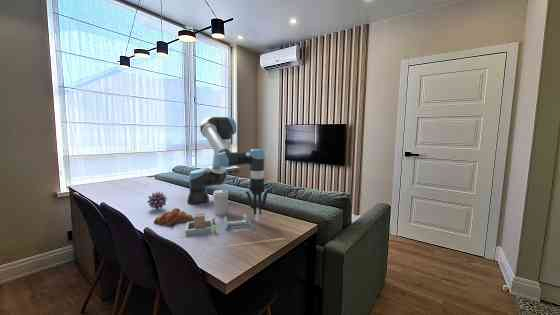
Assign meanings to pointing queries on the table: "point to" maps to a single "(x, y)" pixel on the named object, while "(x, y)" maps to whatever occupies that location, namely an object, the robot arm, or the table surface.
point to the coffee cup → (220, 201)
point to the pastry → (173, 218)
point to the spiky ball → (157, 200)
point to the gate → (235, 222)
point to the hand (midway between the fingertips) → (257, 219)
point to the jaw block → (199, 220)
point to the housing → (212, 228)
